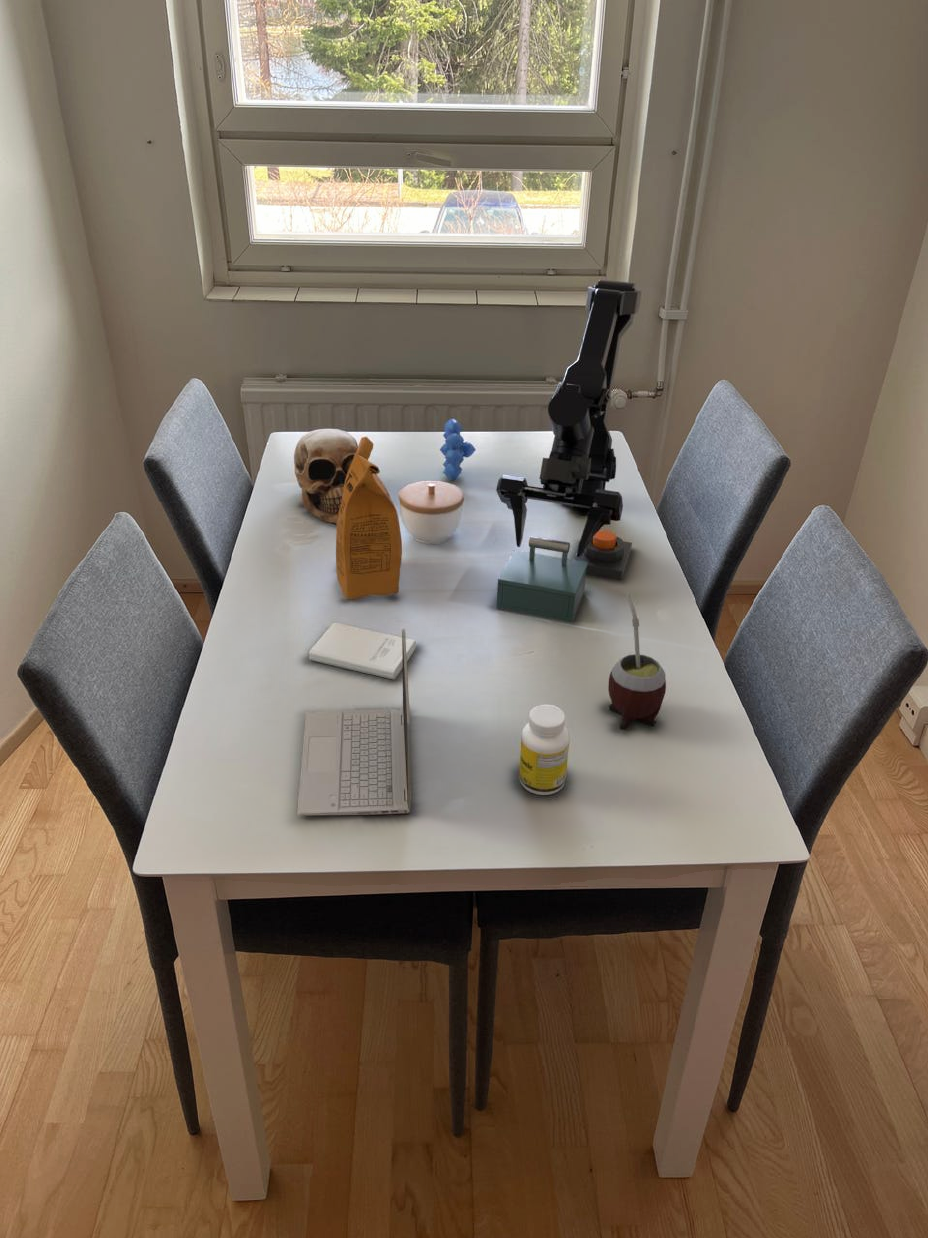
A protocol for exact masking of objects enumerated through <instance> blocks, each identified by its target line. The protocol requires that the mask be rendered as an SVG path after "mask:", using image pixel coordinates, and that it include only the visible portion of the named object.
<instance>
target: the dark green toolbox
mask: <svg viewBox="0 0 928 1238" xmlns="http://www.w3.org/2000/svg"><path fill="white" fill-rule="evenodd" d="M586 576H587V574H586V571H585V574H584V576H583V579H582V581H581V584H580V586H579V589H578V591H577V594H576V596H575V597H573V596H567V595H562V594H556V593H551V592H545V591H539V590H534V589H528V588H523V587H517V586H512V585H506V584H501V583H498V582H497V587H496V588H497V590H496V591H497V593H496V609H501V610H506V611H511V612H516V613H523V614H526V615H533V616H538V617H544V618H549V619H554V620H559V621H564V622H569V623H570V622H571V623H573V622H574V619H575V617H576V614H577V611H578V609H579V606H580V604H581V602H582V599H583V596H584V593H585V588H586V587H585V585H586Z"/></svg>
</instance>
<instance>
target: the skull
mask: <svg viewBox="0 0 928 1238" xmlns="http://www.w3.org/2000/svg"><path fill="white" fill-rule="evenodd" d="M358 446H359V443H358V442H357V440H356V438H355V437H354V436H353V435H352V434H350V433H349V432H347V431H345V430H342V429H338V428H320V429H319V428H318V429H315V430H311V431H308V432H307V433H305V434H304V435H302V436H301V437H300V439H299V440H298V441H297V443H296V446H295V448H294V452H293V464H294V475H295V477H296V481H297V483H298V487H299V488H300V489H301V502H302V505H303V507H304V508H305V509H306V510H307V512H309V513H310V514H312V515H313V516H314V517H315V518H319V520H320V521H321V522H325V523H332V524H336V525H337V518H338V513H339V508H340V504H341V500H342V496H343V491H344V484H345V479H346V476H347V473H348V470H349V468H350V466H351V464H352V461H353V458H354V456H355V454H356V451H357V449H358Z"/></svg>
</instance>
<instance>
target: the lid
mask: <svg viewBox="0 0 928 1238" xmlns="http://www.w3.org/2000/svg"><path fill="white" fill-rule="evenodd" d="M528 547H529V552H528V551H524V550H523V551H522V550H516V549H513V552H512V553H511V555H510V557H509V558H508V560H507V562H506V564H505V565H504V568H503V569H502V571H501V572H500V575H499V577H498V578H497V584H498V583H501V584H506V585H512V586H517V587H523V588H528V589H534V590H539V591H545V592H551V593H556V594H562V595H567V596H573V597H575V596H576V594H577V591H578V589H579V586H580V584H581V581H582V579H583V576H584V574H585V571H586V569H587V566H588V563H587V562H581V561H576V560H574V559H570V558H568V555H569V552H570V549H571V543H570V542H568V541H563V540H562V541H561V540H555V539H550V538H545V537H539V536H530V537H529V539H528ZM536 549H540V550H547V551H551V552H552V551H553V552H558V553H562V554H561V557H558V556H552V555H546V554H541V553H536Z"/></svg>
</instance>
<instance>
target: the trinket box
mask: <svg viewBox="0 0 928 1238" xmlns="http://www.w3.org/2000/svg"><path fill="white" fill-rule="evenodd" d="M464 500H465V494H464V491H463V490H462V489H461V488H460V487H459V486H457V485H456V484H453V483H449V482H446V481H440V480H421V481H416V482H411V483H410V484H407V485H405V486H404V487H402V488H401V489H400V491H399V492H398V501H399V512H400V513H399V514H400V519H401V522H402V524H403V527H404V528H405V530H406V532H408V533H409V535H411V537H412V538H413V539H414V540H415V541H417V542H418V543H421V544H425V545H438V544H442V543H444V542H446V541H447V540H448V539H449V538H450V537H451V536H452V535H453V534H454V533H455V532H456V531H457V529H458V528H459V526H460V523H461V521H462V517H463V511H464V510H463V508H464Z"/></svg>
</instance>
